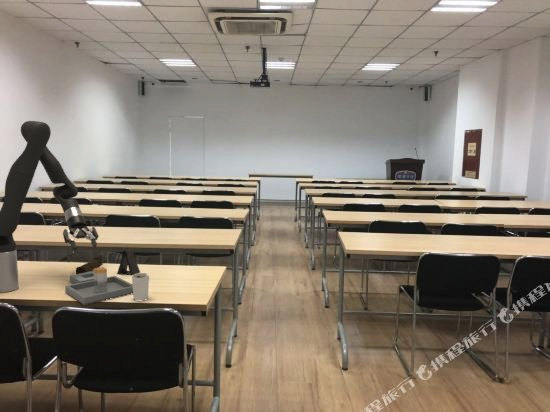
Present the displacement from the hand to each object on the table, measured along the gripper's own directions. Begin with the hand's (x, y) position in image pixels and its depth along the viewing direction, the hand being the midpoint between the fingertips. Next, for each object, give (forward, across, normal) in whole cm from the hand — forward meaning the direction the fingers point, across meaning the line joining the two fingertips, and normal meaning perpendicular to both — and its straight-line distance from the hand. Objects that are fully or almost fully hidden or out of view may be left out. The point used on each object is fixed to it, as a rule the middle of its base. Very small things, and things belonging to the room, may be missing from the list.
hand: (85, 248), depth 193 cm
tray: (+22, +1, +2) cm, 22 cm away
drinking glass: (+35, +10, -11) cm, 38 cm away
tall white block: (+22, +1, +1) cm, 22 cm away
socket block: (+9, +3, +14) cm, 17 cm away
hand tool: (-5, +12, +28) cm, 31 cm away
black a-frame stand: (+8, +23, +15) cm, 28 cm away
